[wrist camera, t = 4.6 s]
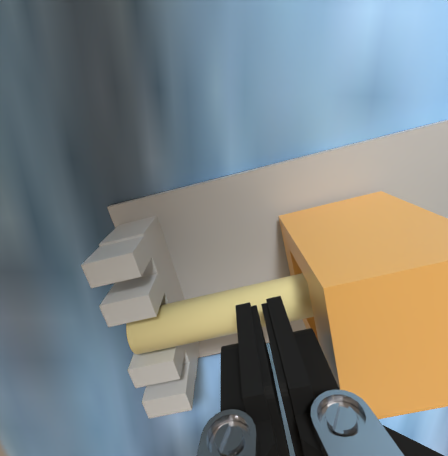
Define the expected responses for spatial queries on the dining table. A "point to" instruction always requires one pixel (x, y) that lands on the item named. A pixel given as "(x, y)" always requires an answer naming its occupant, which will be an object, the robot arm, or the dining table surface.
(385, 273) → the sleeve
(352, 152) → the rail
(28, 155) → the dining table surface
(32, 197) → the dining table surface
